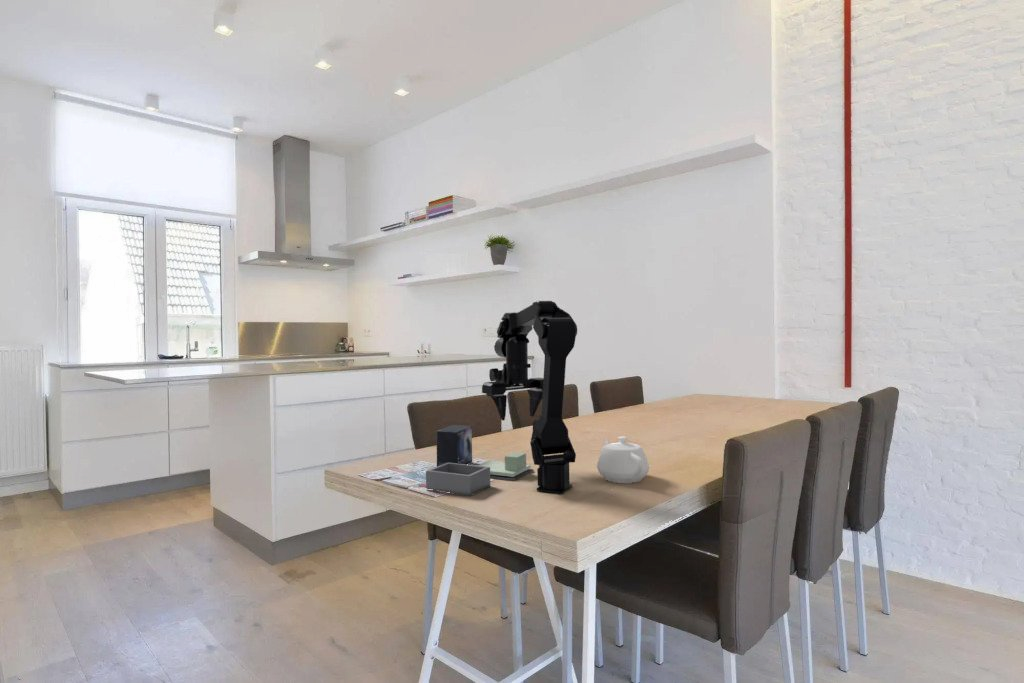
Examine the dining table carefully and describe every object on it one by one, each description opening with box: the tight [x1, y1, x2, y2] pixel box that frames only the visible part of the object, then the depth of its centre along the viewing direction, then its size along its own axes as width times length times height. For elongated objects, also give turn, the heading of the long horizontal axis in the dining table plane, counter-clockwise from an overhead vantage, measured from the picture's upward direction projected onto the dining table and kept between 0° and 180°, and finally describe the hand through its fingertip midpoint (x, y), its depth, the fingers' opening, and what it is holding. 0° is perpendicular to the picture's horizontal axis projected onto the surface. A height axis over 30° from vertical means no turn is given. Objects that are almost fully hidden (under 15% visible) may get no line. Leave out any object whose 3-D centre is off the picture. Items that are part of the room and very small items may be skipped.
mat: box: [490, 468, 534, 482], centre depth 147 cm, size 14×11×1 cm
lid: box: [476, 451, 532, 477], centre depth 146 cm, size 13×10×5 cm
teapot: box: [596, 435, 650, 484], centre depth 139 cm, size 20×12×10 cm, turn 14°
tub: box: [425, 463, 491, 497], centre depth 133 cm, size 12×9×4 cm
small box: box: [436, 424, 473, 467], centre depth 155 cm, size 11×6×10 cm, turn 161°
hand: (517, 418), depth 152 cm, fingers open, 9 cm apart
